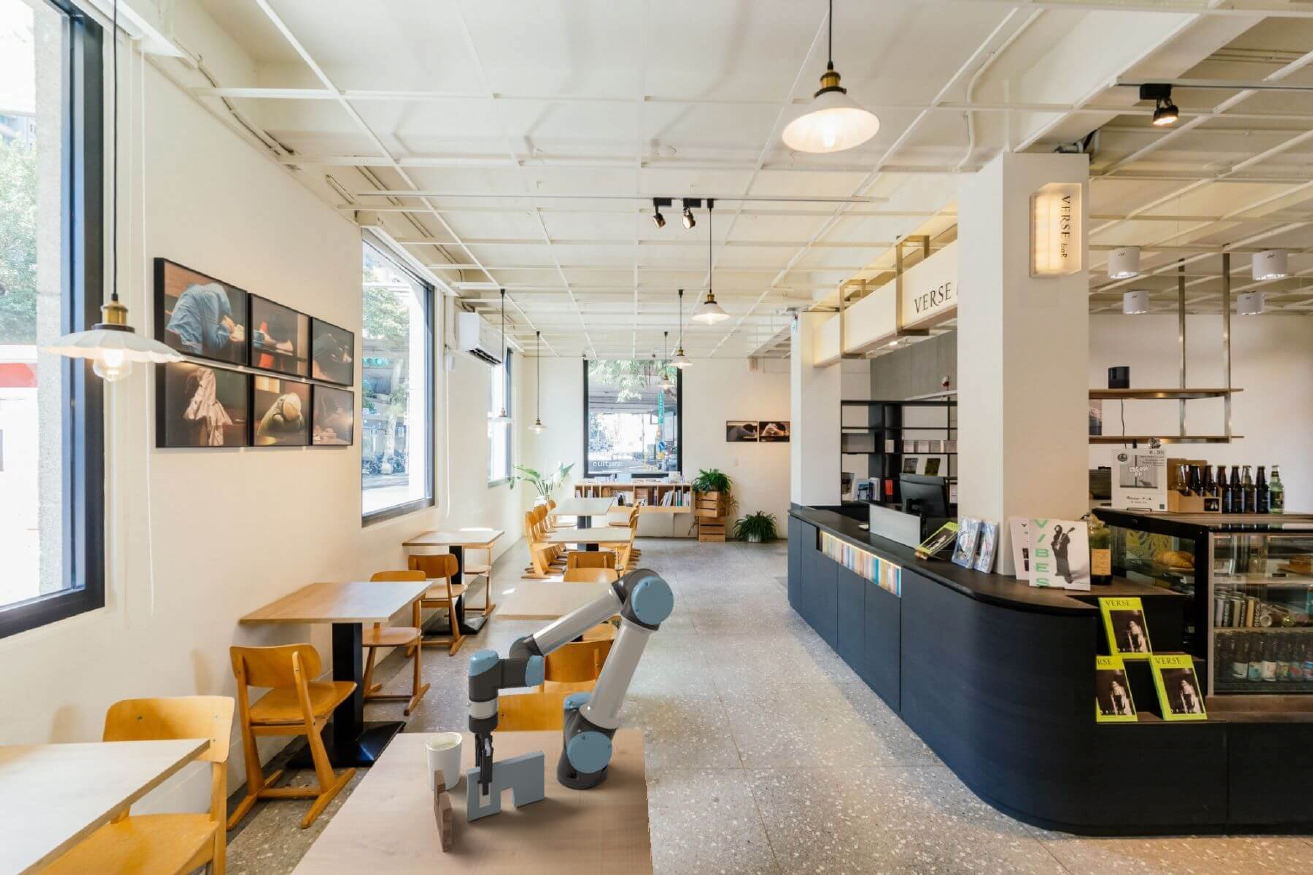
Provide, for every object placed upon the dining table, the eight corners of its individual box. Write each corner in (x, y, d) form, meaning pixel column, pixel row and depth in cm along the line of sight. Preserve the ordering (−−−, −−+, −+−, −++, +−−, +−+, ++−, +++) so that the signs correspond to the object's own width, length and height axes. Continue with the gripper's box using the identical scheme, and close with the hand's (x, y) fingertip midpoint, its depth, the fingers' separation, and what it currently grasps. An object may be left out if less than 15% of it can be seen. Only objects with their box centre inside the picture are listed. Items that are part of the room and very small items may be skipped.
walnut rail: (441, 806, 153) (442, 768, 153) (451, 848, 137) (451, 807, 137) (433, 808, 152) (434, 770, 152) (442, 851, 136) (442, 809, 136)
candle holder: (450, 795, 158) (450, 751, 158) (418, 790, 160) (419, 747, 160) (468, 774, 168) (469, 734, 168) (438, 770, 170) (439, 730, 170)
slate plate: (541, 793, 158) (541, 750, 158) (544, 798, 156) (544, 754, 156) (466, 815, 149) (467, 769, 149) (468, 820, 147) (468, 774, 147)
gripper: (463, 703, 155) (463, 790, 155) (474, 729, 141) (474, 824, 141) (492, 697, 158) (492, 782, 158) (504, 722, 145) (504, 814, 144)
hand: (483, 801), depth 150 cm, fingers closed on slate plate, 2 cm apart
